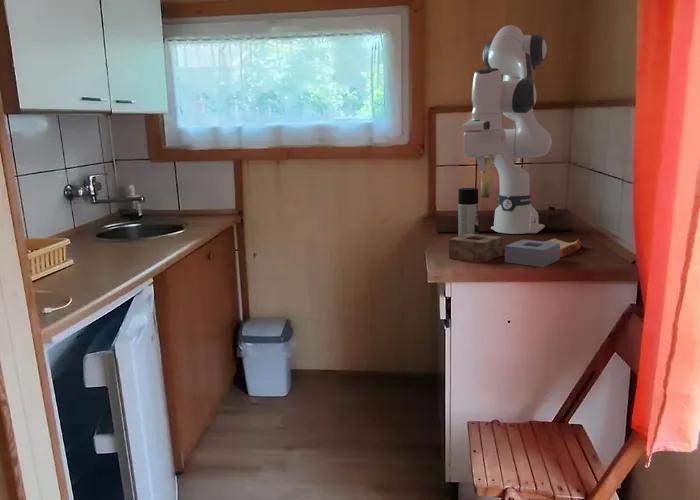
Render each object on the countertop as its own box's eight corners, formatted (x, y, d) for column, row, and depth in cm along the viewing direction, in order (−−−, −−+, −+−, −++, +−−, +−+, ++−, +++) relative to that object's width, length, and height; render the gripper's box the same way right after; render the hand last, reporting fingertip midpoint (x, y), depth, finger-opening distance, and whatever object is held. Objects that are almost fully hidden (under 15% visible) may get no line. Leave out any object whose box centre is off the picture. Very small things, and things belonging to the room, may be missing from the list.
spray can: (478, 248, 195) (478, 189, 191) (457, 248, 196) (458, 189, 192) (478, 244, 201) (478, 187, 197) (458, 244, 203) (458, 187, 198)
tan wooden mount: (468, 251, 191) (468, 233, 190) (501, 255, 183) (502, 236, 182) (448, 258, 182) (448, 239, 181) (483, 262, 174) (483, 243, 173)
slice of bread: (546, 259, 177) (547, 247, 176) (522, 248, 194) (522, 237, 194) (601, 256, 179) (602, 244, 178) (572, 245, 197) (572, 234, 196)
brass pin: (483, 196, 179) (484, 157, 177) (492, 197, 177) (492, 157, 175) (478, 197, 177) (479, 158, 175) (487, 198, 175) (488, 158, 173)
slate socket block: (522, 254, 183) (522, 239, 182) (559, 259, 175) (560, 243, 174) (504, 262, 174) (505, 245, 173) (543, 267, 166) (543, 250, 165)
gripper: (493, 124, 183) (492, 168, 185) (459, 125, 168) (459, 172, 170) (512, 123, 178) (511, 168, 181) (479, 124, 164) (478, 173, 166)
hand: (485, 170), depth 176 cm, fingers closed on brass pin, 3 cm apart
